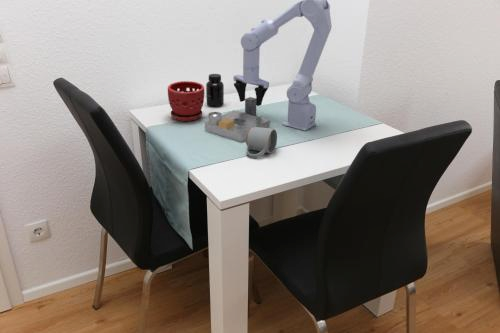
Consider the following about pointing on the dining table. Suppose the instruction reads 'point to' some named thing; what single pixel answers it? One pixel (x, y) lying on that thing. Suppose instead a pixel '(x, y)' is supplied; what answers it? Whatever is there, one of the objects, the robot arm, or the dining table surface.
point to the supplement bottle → (215, 91)
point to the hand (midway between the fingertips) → (250, 103)
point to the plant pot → (186, 100)
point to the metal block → (250, 106)
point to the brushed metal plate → (234, 124)
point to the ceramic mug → (261, 141)
